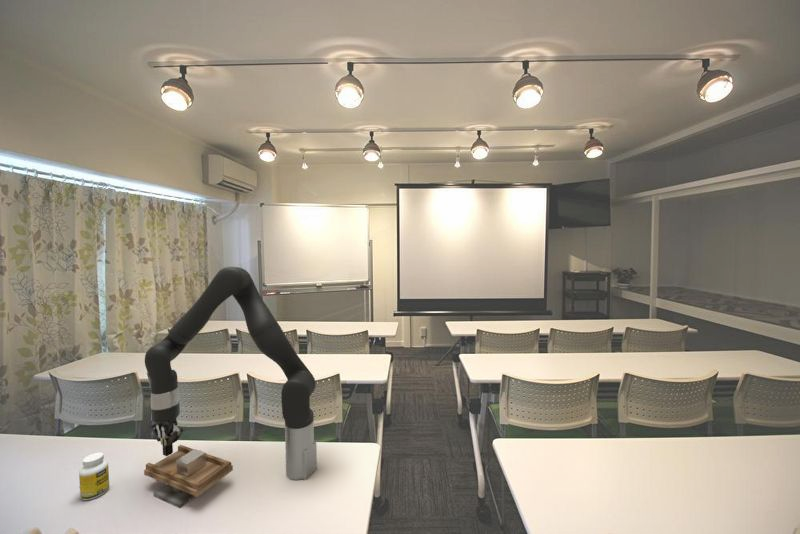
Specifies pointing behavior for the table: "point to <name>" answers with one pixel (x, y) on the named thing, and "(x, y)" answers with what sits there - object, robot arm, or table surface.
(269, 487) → the table surface
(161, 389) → the robot arm
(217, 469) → the wooden tray
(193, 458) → the block
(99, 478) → the pill bottle
